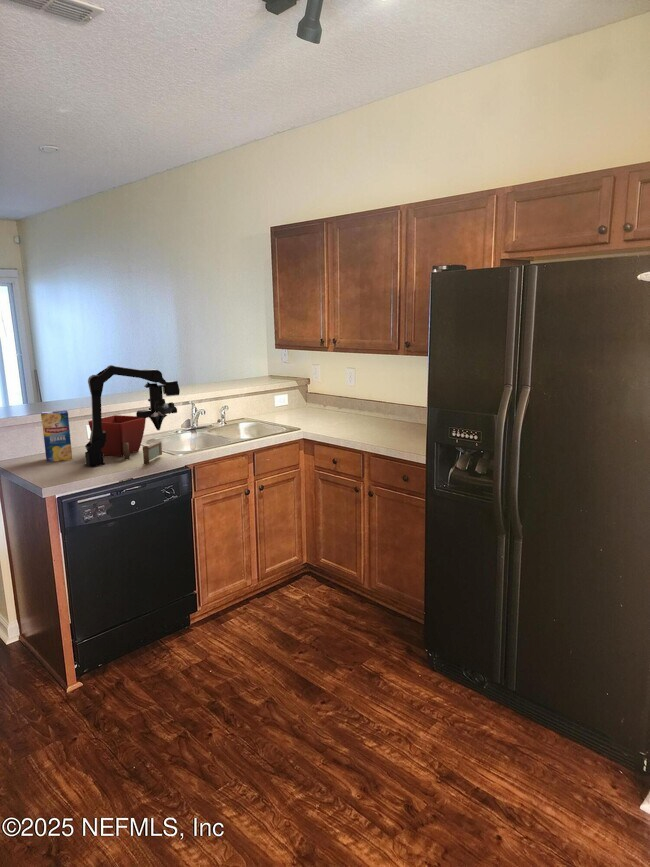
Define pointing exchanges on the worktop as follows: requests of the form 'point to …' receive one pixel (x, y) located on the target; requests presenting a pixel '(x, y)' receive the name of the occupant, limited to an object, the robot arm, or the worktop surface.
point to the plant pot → (122, 434)
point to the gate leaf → (155, 450)
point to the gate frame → (145, 453)
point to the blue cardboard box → (56, 435)
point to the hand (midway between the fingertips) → (158, 430)
